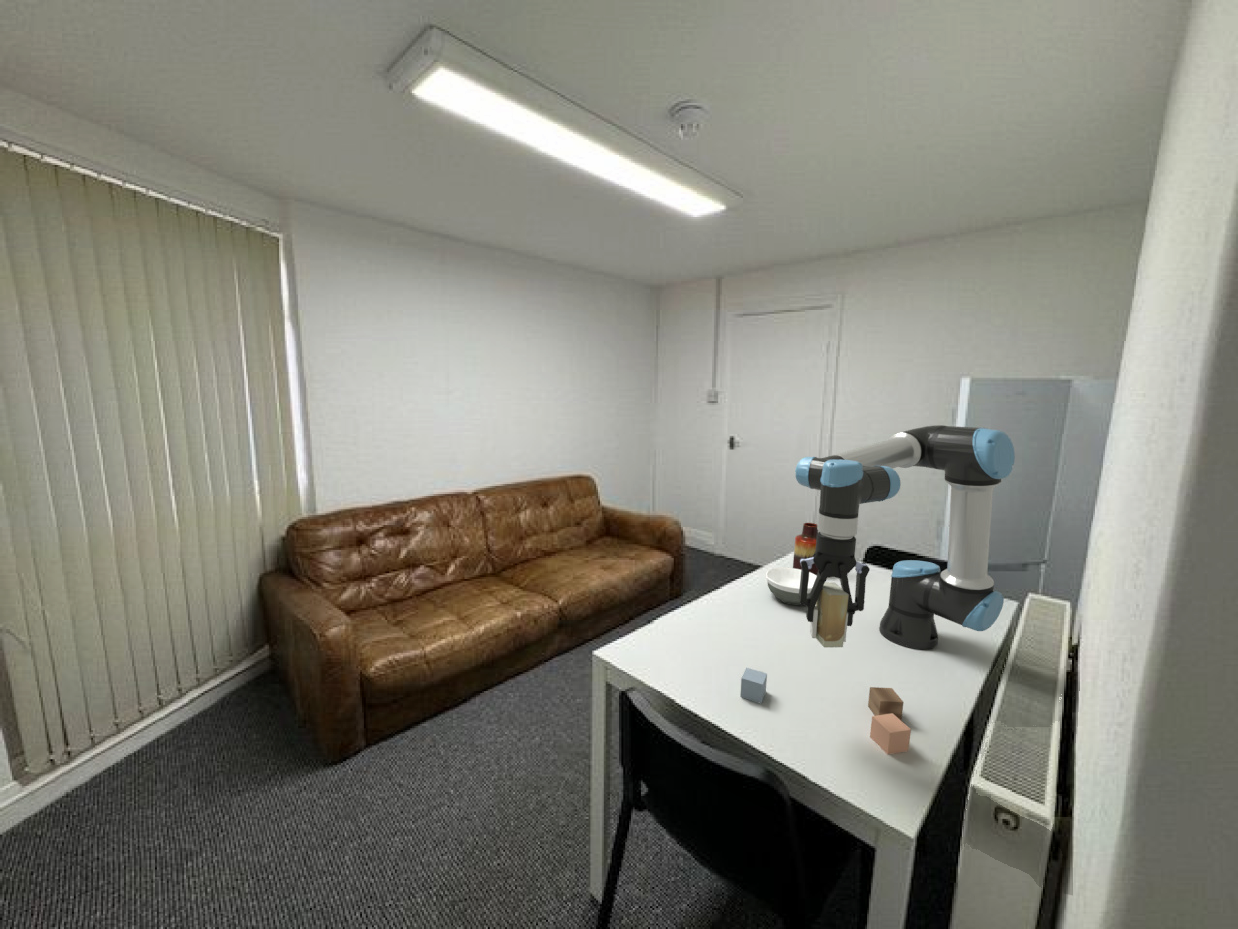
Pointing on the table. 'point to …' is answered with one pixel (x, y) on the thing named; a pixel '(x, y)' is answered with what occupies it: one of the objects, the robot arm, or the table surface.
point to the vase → (806, 546)
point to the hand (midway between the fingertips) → (827, 636)
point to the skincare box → (831, 615)
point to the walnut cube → (885, 702)
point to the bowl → (787, 584)
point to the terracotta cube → (890, 733)
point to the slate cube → (753, 685)
